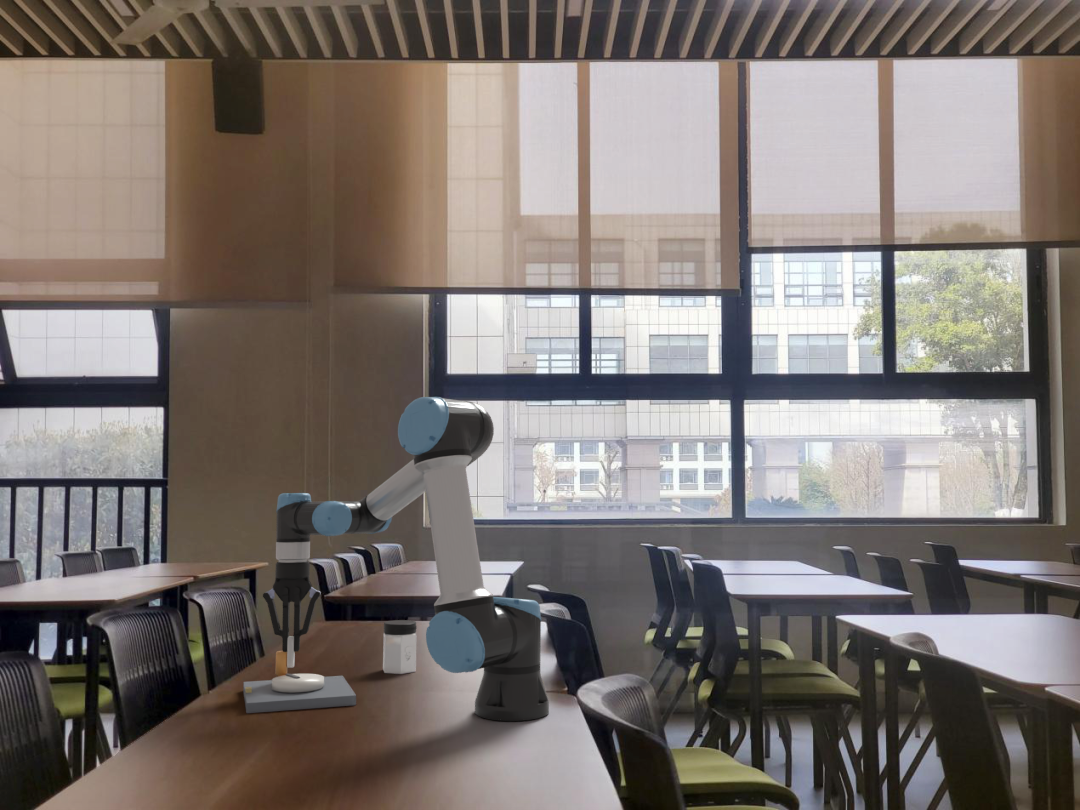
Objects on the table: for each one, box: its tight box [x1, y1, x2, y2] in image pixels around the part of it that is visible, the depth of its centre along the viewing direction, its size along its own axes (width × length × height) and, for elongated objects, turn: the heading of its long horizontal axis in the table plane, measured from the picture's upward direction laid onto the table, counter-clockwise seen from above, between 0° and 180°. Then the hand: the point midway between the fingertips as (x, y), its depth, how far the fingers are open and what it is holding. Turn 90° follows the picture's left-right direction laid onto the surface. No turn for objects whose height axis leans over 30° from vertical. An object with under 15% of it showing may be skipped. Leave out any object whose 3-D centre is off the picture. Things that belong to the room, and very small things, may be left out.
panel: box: [242, 675, 357, 714], centre depth 198 cm, size 22×22×3 cm
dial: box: [271, 650, 325, 692], centre depth 200 cm, size 15×11×6 cm
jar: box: [382, 619, 417, 675], centre depth 229 cm, size 9×8×12 cm
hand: (290, 666), depth 205 cm, fingers closed
